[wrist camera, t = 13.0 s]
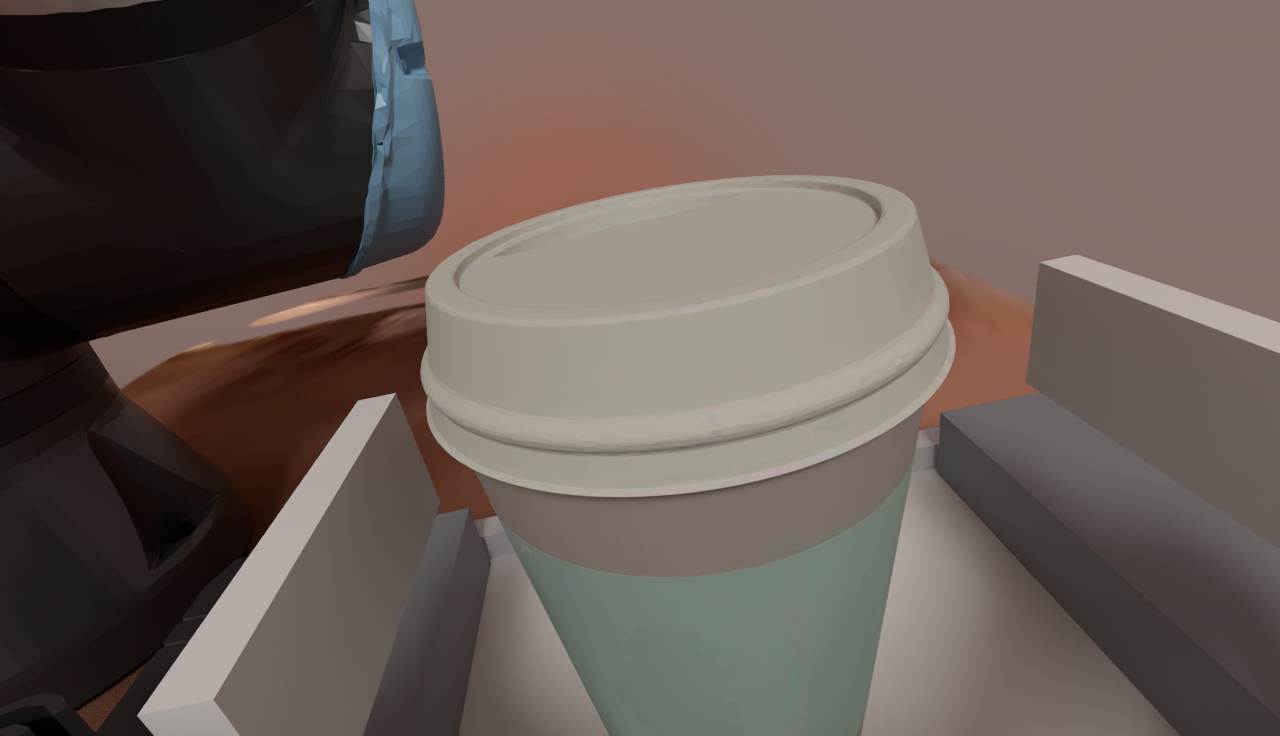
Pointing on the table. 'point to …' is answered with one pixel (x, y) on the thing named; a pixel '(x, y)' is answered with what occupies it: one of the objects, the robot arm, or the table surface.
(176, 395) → the table surface
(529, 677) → the rail plate
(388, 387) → the table surface
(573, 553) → the coffee cup
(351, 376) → the table surface
